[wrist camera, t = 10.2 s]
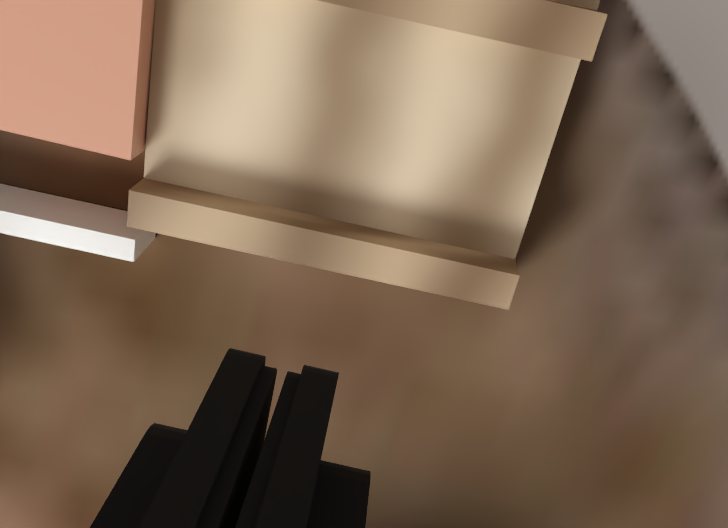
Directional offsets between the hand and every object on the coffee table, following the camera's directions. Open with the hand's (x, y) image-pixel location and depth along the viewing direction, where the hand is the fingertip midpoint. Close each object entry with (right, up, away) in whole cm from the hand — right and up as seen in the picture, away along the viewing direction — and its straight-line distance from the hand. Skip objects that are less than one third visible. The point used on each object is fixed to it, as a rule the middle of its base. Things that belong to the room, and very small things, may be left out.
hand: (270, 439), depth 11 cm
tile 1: (-9, +11, +17) cm, 22 cm away
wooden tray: (+1, +9, +17) cm, 19 cm away
